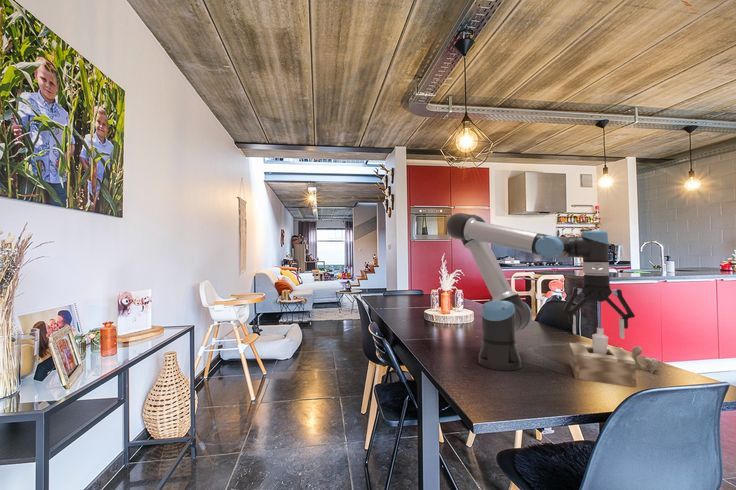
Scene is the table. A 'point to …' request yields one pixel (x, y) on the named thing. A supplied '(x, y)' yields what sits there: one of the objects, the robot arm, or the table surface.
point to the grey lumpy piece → (651, 362)
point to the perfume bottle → (599, 342)
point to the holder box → (602, 365)
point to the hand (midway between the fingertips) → (597, 335)
